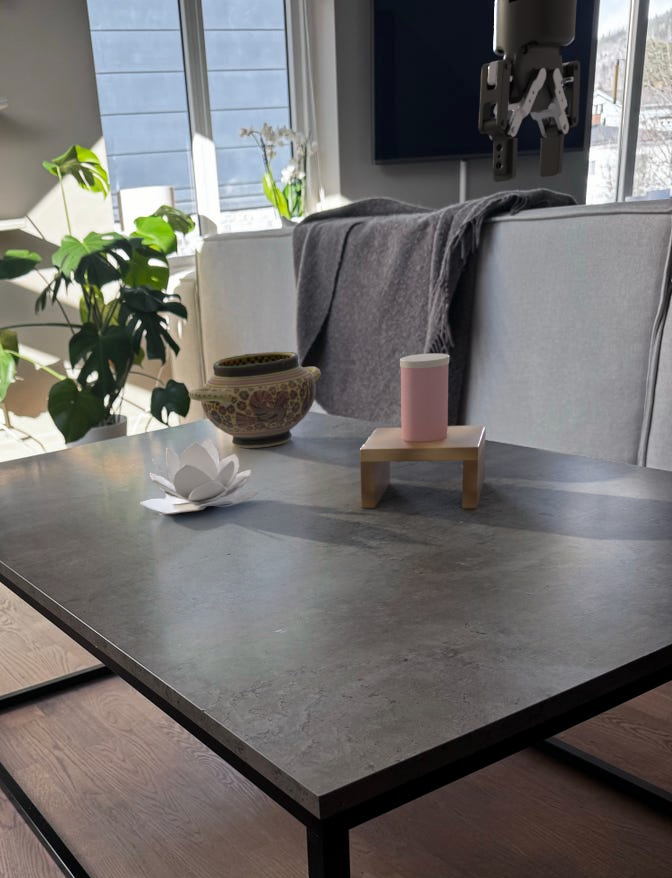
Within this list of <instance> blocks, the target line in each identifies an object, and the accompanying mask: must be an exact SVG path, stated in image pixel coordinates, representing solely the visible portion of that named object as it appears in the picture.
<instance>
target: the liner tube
mask: <svg viewBox="0 0 672 878" xmlns="http://www.w3.org/2000/svg"><path fill="white" fill-rule="evenodd" d="M449 364H450V355H449V354H447V353H438V352H437V353H435V352H434V353H418V354H412V355H406V356H403V357H401V358H400V359H399V367H400V398H401V399H400V408H401V409H400V411H401V412H400V415H401V416H400V417H401V418H400V420H401V423H400V424H401V430H402V439H403V440H406V441H411V442H428V441H436V440H440V439H443V438H446V437H447V429H448V426H449V425H448V421H449V418H448V417H449Z"/></svg>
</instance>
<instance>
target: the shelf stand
mask: <svg viewBox="0 0 672 878" xmlns="http://www.w3.org/2000/svg"><path fill="white" fill-rule="evenodd" d="M486 428H487V426H486V424H478V425H477V424H476V425H475V424H474V425H472V424H471V425H448V429H447V437H446V438H443V439H440V440H436V441H428V442H411V441H406V440H403V439H402V430H401V427H400V426H399V427H377V428H375V429H374V431H373V432H372V433H371V435H370V436H369V437H368V439H367V440H366V441H365V443H364V444H363V445H362V446H361V447H360V448H359V461H360V493H361V495H360V499H361V501H360V502H361V503H360V504H361V509H376V508H377V505H378V504H379V502H380V500H381V499H382V497H383V496H384V494H385V492H386V490H387V489H388V487H389V486H390V484H391V462H451V461H453V462H455V461H458V462H460V461H462V495H461V497H462V498H461V499H462V500H461V501H462V503H461V506H462V507H461V508H462V509H465V510H466V509H468V510H469V509H470V510H472V509H478V505H479V502H480V499H481V496H482V495H481V494H482V491H483V487H484V485H485V468H486V467H485V465H486V464H485V462H486V461H485V460H486V433H487V432H486V430H487V429H486Z"/></svg>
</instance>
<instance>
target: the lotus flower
mask: <svg viewBox="0 0 672 878" xmlns="http://www.w3.org/2000/svg"><path fill="white" fill-rule="evenodd" d="M152 462H153V463H154V465H156V467H157V468H158V469H159V470H160V471H161V473H162V474H163V475H164V476H165V477H166V478H165V477H163V476H160V475H158V474H156V473H153V472H150V473H149V476H150V479H151V480H152V483H153V484H154V485H155V486H156V487H157V488H158V489H159V490H160V491H161V492H163V493H164V494H165V496H164V498H150V499H146V500H143V501H140V503H139V504H140V505H141V506H142V507H144V508H146V509H149V510H151V511H154V512H157V513H158V515H159V516H163V515H176V514H180V513H188V512H198V511H202V510H205V509H206V508H207V507H210V506H211V507H212V506H213V507H219V508H227V507H230V506H235V505H237V504H241V503H243V502H245V501H248V500H249V499H251V498H254V496H256V495H258V494H259V493H260V491H259V490H244V491H243V490H242V491H240V489H241V488H243V486H245V485H246V483H248V481H249V479H250V478H251V474H252V469H247V470H243V471H241V472H239V470H240V460H239V458H238V455H237V453H233V454H231V455H227V456H226V457H224V458H223V459H221V456H220V453H219V449H218V447H217V446H216V444H215V443H214V442H213V441H212V440H211V439H210V438H208V437H207V438H206V439H204V441H203V442H201V443H199V442H198V441H195V442H193V443H192V444H190V445H189V446H188V447H186V448H185V449H184V451H182V454H181V456H180V457H179V455H178V454H177V453H176V452H175V451H173V450H172V449H171V448H170V447H166V449H165V465H166V470H167V474H166V473H165V471H164V470H163V468H161V466H160V465H158V463H157V462H156V461H155V459H152Z"/></svg>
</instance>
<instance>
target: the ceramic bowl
mask: <svg viewBox="0 0 672 878" xmlns="http://www.w3.org/2000/svg"><path fill="white" fill-rule="evenodd" d="M212 369H213V375H212V376H211V377H210V378H209V379H208V380H207V381H206V382H205V384H204V385H203V387H200V388H195V389H192V390H190V391H189V392H188V397H189V398H190V399H191V400H194V401H197V402H201V408H202V410H203V412H204V414H205V416H206V418H207V419H208V420H209V421H210V422H211V423H212V424H213V426H215V427H216V428H217V429H218V430H220V431H221V432H224V433H225V434H227V435H229V436H231V437H232V441H231V443H232V444H233V446H235V447H238V448H241V449H242V448H243V449H258V448H259V449H260V448H261V449H262V448H270V447H274V446H280V445H283V444H286V443H287V442H289V441H290V440H291V439H292V433H291V430H292V429H293V428H295V427H296V426H297V425H298V424H299V423H300V422H301V421H302V420H304V418H305V417H306V415H307V414H308V413H309V412H310V410H311V408H312V406H313V404H314V402H315V398H316V393H317V385H316V382H317V381H318V380H319V378H320V377H321V375H322V372H321V369H320V368H318V367H316V366H305V367H303V366H301V365H300V363H299V354H298V353H297V352H293V351H270V352H268V351H267V352H258V353H257V352H256V353H244V354H242V355H235V356H230V357H225V358H221V359H219V360H217V361H215V362H214V363H213V365H212Z"/></svg>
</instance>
